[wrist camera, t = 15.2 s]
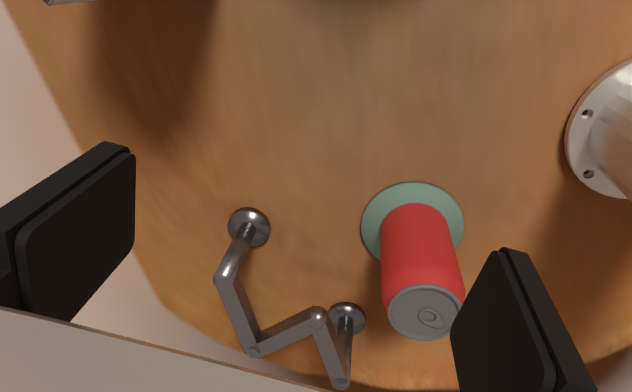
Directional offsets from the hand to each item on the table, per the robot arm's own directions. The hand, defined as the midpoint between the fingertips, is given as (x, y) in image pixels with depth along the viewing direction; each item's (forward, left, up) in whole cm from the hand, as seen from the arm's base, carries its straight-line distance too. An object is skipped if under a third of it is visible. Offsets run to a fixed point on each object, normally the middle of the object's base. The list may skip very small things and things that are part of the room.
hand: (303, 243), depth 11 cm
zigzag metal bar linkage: (-1, +24, -28) cm, 37 cm away
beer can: (-10, +15, -28) cm, 33 cm away
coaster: (-10, +15, -28) cm, 34 cm away
